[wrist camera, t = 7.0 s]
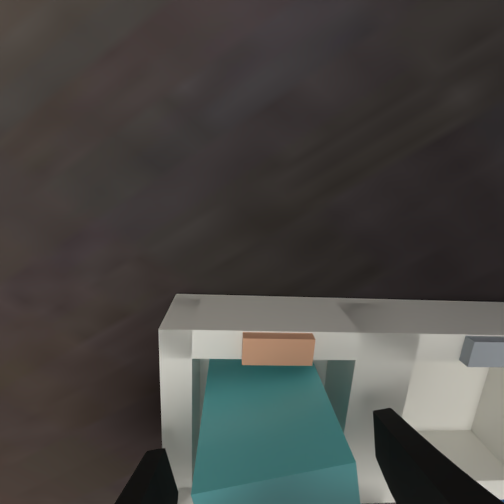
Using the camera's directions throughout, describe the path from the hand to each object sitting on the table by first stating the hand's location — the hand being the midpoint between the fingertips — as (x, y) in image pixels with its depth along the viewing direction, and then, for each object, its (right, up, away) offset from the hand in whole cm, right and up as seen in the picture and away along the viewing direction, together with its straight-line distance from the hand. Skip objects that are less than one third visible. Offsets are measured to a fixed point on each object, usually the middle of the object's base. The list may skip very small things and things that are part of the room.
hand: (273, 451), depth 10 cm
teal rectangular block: (0, +1, +3) cm, 4 cm away
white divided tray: (+4, +1, +4) cm, 6 cm away
